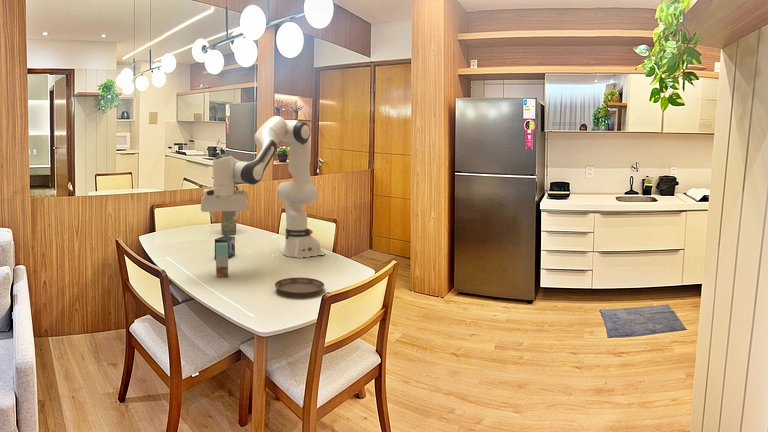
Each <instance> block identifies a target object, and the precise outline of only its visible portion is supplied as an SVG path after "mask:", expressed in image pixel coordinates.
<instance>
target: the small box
mask: <svg viewBox="0 0 768 432" xmlns="http://www.w3.org/2000/svg"><path fill="white" fill-rule="evenodd" d="M226 242H227V243H228V259H231V258H233V257H234V256H235V257H236V236H234V235H231V236H225V235H222V236H220V237H218V238H215V239H214V260H216V243H226Z"/></svg>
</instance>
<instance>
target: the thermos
mask: <svg viewBox="0 0 768 432" xmlns="http://www.w3.org/2000/svg"><path fill="white" fill-rule="evenodd" d="M234 190H238V191H239V187H238V185H236V184H235V182H234ZM234 216H236V211H221V225H220V227H221V229H220V230H221V235H222V236H236V235H237V222H236V221H234Z"/></svg>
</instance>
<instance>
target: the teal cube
mask: <svg viewBox="0 0 768 432" xmlns="http://www.w3.org/2000/svg"><path fill="white" fill-rule="evenodd" d="M216 256H228V243H227V242H226V243H216Z"/></svg>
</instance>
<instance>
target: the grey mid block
mask: <svg viewBox="0 0 768 432" xmlns="http://www.w3.org/2000/svg"><path fill="white" fill-rule="evenodd" d="M216 267H228V268H229V258H228V256H216V259H215V268H216Z"/></svg>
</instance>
